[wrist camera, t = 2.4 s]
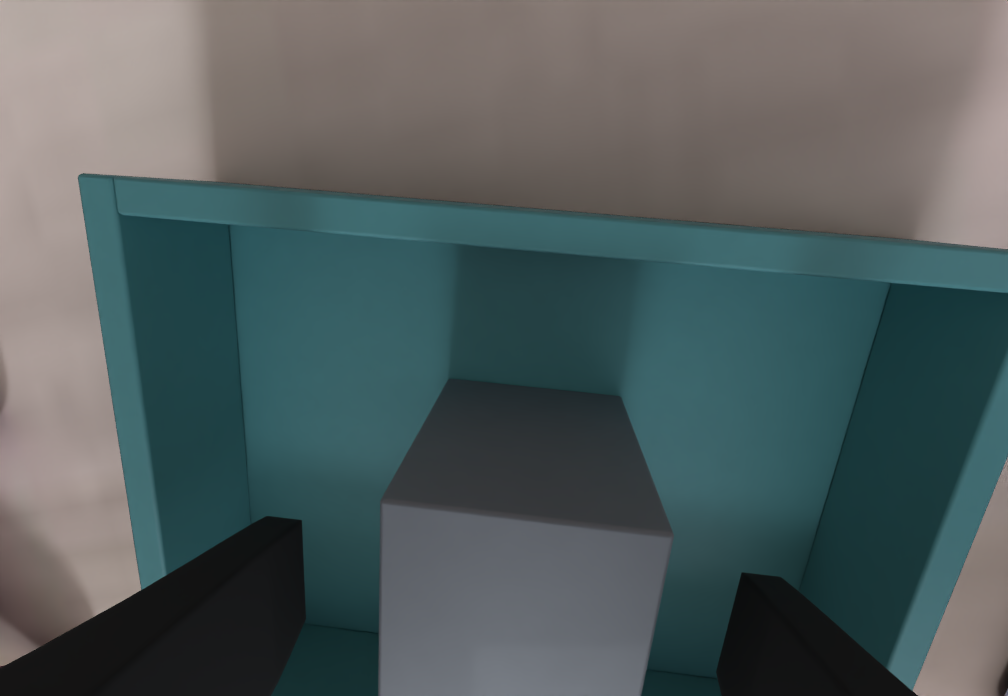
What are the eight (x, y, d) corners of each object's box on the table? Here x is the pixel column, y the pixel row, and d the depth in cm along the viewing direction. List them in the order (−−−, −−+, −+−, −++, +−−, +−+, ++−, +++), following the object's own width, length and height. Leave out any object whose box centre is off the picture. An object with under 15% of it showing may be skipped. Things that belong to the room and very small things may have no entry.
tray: (916, 239, 10) (1091, 258, 7) (779, 687, 14) (852, 841, 11) (215, 181, 11) (74, 172, 8) (249, 617, 15) (162, 738, 11)
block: (622, 395, 11) (676, 535, 7) (596, 557, 13) (626, 774, 8) (448, 376, 12) (378, 499, 7) (440, 537, 13) (375, 737, 8)
